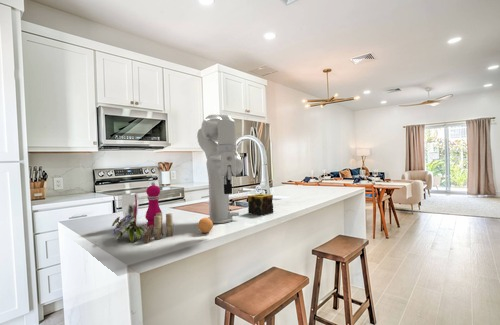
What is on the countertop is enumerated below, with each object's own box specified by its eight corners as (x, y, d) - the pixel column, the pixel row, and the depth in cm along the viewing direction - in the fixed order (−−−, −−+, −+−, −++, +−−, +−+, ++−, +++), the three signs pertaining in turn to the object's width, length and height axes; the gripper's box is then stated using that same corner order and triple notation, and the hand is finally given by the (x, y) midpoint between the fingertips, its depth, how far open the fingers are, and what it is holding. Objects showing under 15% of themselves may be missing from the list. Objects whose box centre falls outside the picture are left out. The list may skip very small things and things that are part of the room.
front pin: (172, 234, 104) (172, 213, 104) (172, 236, 102) (172, 214, 102) (166, 235, 104) (166, 213, 104) (166, 236, 101) (165, 214, 101)
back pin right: (163, 233, 106) (162, 212, 106) (162, 234, 104) (162, 213, 104) (156, 233, 106) (156, 212, 106) (156, 235, 103) (155, 214, 103)
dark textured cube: (273, 213, 143) (273, 194, 143) (261, 216, 136) (261, 196, 136) (259, 210, 150) (259, 193, 150) (247, 213, 143) (247, 195, 143)
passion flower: (118, 255, 98) (106, 227, 101) (146, 242, 105) (134, 217, 109) (123, 244, 90) (110, 214, 94) (153, 231, 98) (140, 204, 101)
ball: (212, 230, 110) (211, 215, 110) (213, 233, 104) (213, 218, 104) (197, 231, 108) (197, 216, 108) (198, 235, 102) (198, 220, 102)
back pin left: (161, 237, 100) (161, 215, 100) (161, 239, 98) (160, 216, 98) (155, 238, 100) (154, 215, 100) (154, 239, 97) (153, 217, 97)
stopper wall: (153, 232, 108) (153, 224, 108) (148, 242, 94) (148, 234, 94) (149, 232, 108) (149, 225, 108) (144, 243, 94) (143, 234, 94)
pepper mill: (165, 223, 123) (164, 181, 123) (158, 227, 116) (157, 182, 116) (150, 223, 124) (149, 181, 124) (142, 227, 117) (141, 182, 117)
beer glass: (135, 224, 122) (134, 192, 122) (141, 227, 118) (140, 193, 117) (119, 227, 118) (118, 194, 118) (125, 230, 113) (124, 195, 113)
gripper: (239, 148, 102) (240, 195, 101) (232, 150, 116) (233, 191, 116) (220, 148, 100) (221, 196, 100) (216, 150, 114) (217, 192, 114)
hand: (228, 193), depth 108 cm, fingers closed
